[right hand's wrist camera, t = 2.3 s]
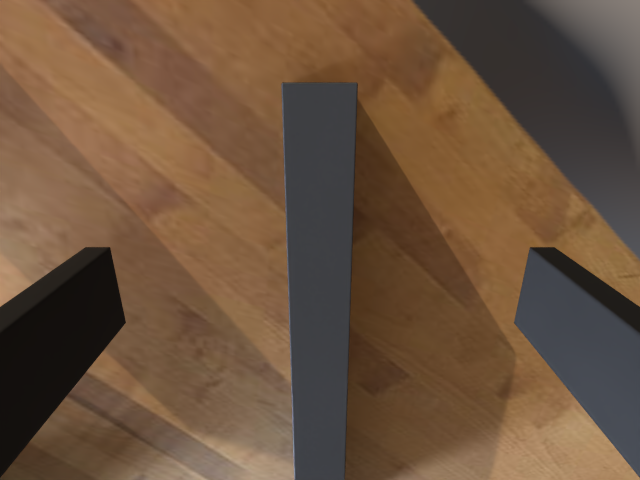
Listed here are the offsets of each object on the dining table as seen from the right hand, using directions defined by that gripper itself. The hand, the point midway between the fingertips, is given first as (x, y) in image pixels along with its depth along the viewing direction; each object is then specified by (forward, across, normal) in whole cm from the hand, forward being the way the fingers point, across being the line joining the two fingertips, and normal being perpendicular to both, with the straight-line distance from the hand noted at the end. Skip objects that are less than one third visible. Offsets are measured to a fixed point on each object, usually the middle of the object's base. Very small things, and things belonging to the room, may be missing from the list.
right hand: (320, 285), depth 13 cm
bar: (+26, 0, -20) cm, 33 cm away
